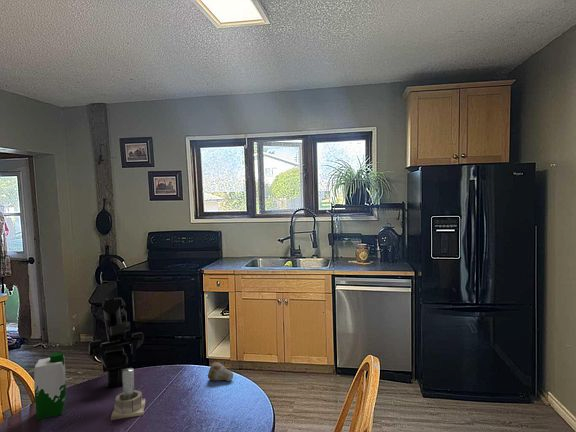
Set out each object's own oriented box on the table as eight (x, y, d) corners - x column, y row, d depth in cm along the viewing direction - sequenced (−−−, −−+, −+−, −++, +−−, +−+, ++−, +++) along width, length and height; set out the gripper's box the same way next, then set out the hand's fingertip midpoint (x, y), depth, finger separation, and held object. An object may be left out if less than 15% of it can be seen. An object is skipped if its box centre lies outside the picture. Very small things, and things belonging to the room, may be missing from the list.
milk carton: (64, 415, 130) (62, 357, 130) (33, 421, 126) (31, 362, 126) (67, 403, 138) (66, 348, 138) (38, 409, 135) (36, 353, 134)
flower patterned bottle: (231, 385, 150) (218, 364, 149) (213, 392, 154) (200, 372, 153) (239, 373, 157) (226, 353, 156) (221, 380, 161) (209, 360, 160)
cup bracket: (115, 405, 136) (115, 391, 136) (145, 401, 139) (145, 387, 139) (110, 420, 126) (110, 405, 126) (143, 415, 129) (142, 400, 129)
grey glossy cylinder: (127, 404, 135) (126, 367, 135) (136, 404, 134) (135, 368, 134) (121, 409, 131) (120, 371, 131) (130, 410, 131) (129, 372, 130)
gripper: (88, 319, 138) (93, 359, 129) (142, 311, 148) (150, 347, 139) (86, 335, 144) (91, 374, 135) (138, 326, 155) (145, 362, 146)
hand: (120, 364), depth 139 cm, fingers open, 9 cm apart
